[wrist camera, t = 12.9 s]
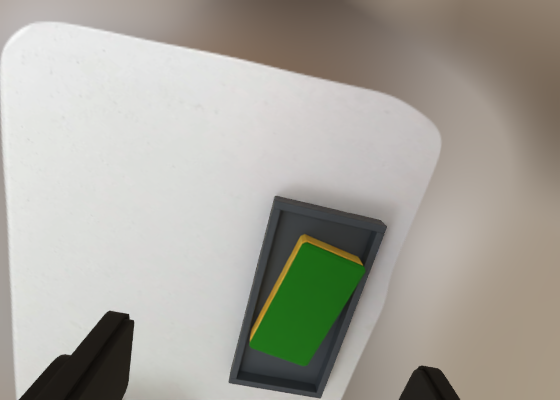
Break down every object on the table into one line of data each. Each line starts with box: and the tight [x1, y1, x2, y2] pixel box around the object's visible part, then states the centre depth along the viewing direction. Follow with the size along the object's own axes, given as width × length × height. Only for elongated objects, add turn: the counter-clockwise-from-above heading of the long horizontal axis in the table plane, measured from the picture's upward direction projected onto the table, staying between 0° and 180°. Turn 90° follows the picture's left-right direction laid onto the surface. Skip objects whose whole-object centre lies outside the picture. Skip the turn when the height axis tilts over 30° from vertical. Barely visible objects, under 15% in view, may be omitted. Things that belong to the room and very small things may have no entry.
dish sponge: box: [249, 234, 366, 366], centre depth 30 cm, size 7×14×2 cm, turn 155°
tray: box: [229, 196, 387, 398], centre depth 31 cm, size 24×12×2 cm, turn 166°
